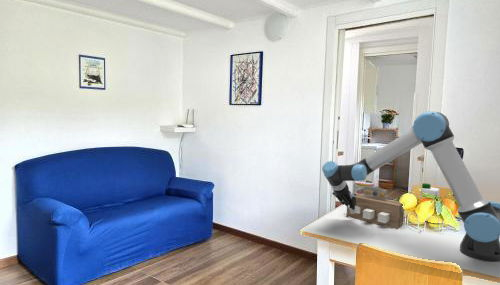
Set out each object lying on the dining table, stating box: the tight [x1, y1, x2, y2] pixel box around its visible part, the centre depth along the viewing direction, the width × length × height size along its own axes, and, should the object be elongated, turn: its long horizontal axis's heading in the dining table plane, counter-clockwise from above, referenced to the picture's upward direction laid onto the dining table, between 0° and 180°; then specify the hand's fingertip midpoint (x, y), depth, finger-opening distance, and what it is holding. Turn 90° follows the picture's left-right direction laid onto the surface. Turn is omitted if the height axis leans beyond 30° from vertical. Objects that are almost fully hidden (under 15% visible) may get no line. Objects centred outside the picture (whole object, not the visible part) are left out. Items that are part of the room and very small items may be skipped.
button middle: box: [363, 208, 375, 219], centre depth 185 cm, size 6×4×4 cm, turn 136°
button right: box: [378, 212, 390, 223], centre depth 179 cm, size 6×4×4 cm, turn 136°
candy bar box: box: [352, 181, 375, 195], centre depth 209 cm, size 11×5×16 cm, turn 65°
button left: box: [355, 205, 361, 214], centre depth 194 cm, size 6×4×4 cm, turn 136°
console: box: [345, 186, 405, 230], centre depth 188 cm, size 8×28×18 cm, turn 46°
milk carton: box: [419, 183, 441, 199], centre depth 191 cm, size 9×9×20 cm
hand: (353, 211), depth 189 cm, fingers closed
